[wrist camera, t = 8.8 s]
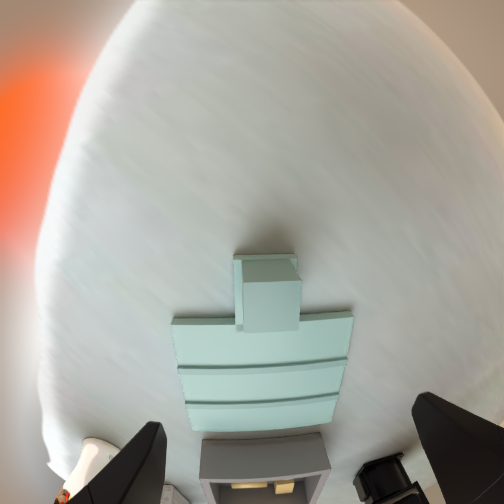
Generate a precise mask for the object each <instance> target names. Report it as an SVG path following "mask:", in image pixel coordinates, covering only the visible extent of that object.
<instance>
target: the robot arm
mask: <svg viewBox="0 0 504 504" xmlns="http://www.w3.org/2000/svg"><path fill="white" fill-rule="evenodd" d="M412 416H413V419H414V422H415V425H416V428H417V432H418V435H419V438H420V441H421V444H422V446H423V449H424V451H425V453H426V455H427V458H428V460H429V462H430V465H431V467H432V469H433V472H434V474H435V477H436V479H437V481H438V484H439V486H440V489H441V491H442V494H443V496H444V499H445V502H446V504H504V428H503V427H500V426H498V425H496V424H494V423H492V422H490V421H488V420H485V419H483V418H481V417H479V416H477V415H475V414H473V413H471V412H469V411H467V410H465V409H463V408H460V407H458V406H456V405H454V404H452V403H450V402H448V401H446V400H444V399H442V398H440V397H438V396H437V395H435V394H433V393H431V392H424V393H421V394H419V395H418V396H417V398H416V401H415V403H414V405H413V407H412ZM166 449H167V437H166V434H165V431H164V428H163V426H162V424H161V423H160V422H154V421H149V422H147V423H146V425H145V426H144V427H143V428H142V429H141V430H140V431H139V432H138V433H137V434H136V435H135V436H134V437H133V438H132V439H131V440H130V441H129V442H128V443H127V444H126V445H125V446H124V447H123V448H122V449H121V450H120V452H119V453H118V454H117V455H116V456H115V457H114V458H113V459H112V460H111V461H110V462H109V463H108V464H107V465H106V466H105V467H104V468H103V469H102V470H101V471H100V472H99V473H98V474H97V475H96V476H95V477H93V478H92V479H91V480H90V481H89V482H88V485H85V486H84V487H83V488H82V489H81V490H80V491H79V492H78V493H77V494H75V495H74V496H73V497H72V498H71V499H70V500H68V501H67V502H66V503H64V504H160V502H161V496H162V491H163V486H164V480H165V465H166ZM403 456H404V454H403V453H399V454H396V455H393V456H390V457H387V458H384V459H381V460H378V461H374V462H371V463H367V464H365V465H363V466H362V468H361V470H360V472H359V473H358V475H357V477H356V479H355V480H354V482H353V485H355V487H356V490H357V493H358V496H359V499H360V501H361V502H365V504H429V502H428V500H427V498H426V496H425V494H424V492H423V491H422V489H421V487H420V485H419V483H418V482H417V481H416V482H414V483H413V484H412V483H411V481H410V479H409V477H408V475H407V473H406V471H405V469H404V467H403V465H402V463H401V461H400V460H401V459H402V457H403ZM416 492H417V493H416Z"/></svg>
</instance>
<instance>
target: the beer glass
mask: <svg viewBox="0 0 504 504" xmlns="http://www.w3.org/2000/svg"><path fill="white" fill-rule="evenodd" d="M119 452H120V449H119V448H117V447H116V446H114V445H112V444H110V443H108V442H106V441H104V440H101V439H97V438H86V439H85V440H84V441H83V444H82V450H81V455H80V459H79V462H78V464H77V466H76V468H75V469H74V470H73V472H72V473H71V475H70V476H69V478H68V479H67V480H66V482H65V483H64V485H63V486H62V488H61V489H60V491H59V493H58V494H57V497H56V499H55V501H54V504H64V503H66V502H67V501H68V500H70V499H71V498H72V497H73V496H74V495H75V494H77V493H78V492H79V491H80V490H81V489H82V488H83V487H84V486H85V485H88V482H89V481H90V480H91V479H92V478H93V477H95V476H96V475H97V474H98V473H99V472H100V471H101V470H102V469H103V468H104V467H105V466H106V465H107V464H108V463H109V462H110V461H111V460H112V459H113V458H114V457H115V456H116V455H117V454H118V453H119Z"/></svg>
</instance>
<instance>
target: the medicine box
mask: <svg viewBox="0 0 504 504" xmlns="http://www.w3.org/2000/svg"><path fill="white" fill-rule="evenodd" d="M160 504H191V503H190V502H189V501H187V500H186V499H185V498H184V497H183V496H182V495H181V494H180V493H179V491H178V490H177V489H176V488H175V487H174V486H173V485H164V486H163V491H162V496H161V502H160Z"/></svg>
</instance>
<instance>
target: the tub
mask: <svg viewBox="0 0 504 504" xmlns="http://www.w3.org/2000/svg"><path fill="white" fill-rule="evenodd" d="M330 471H331V466H330V463H329V459H328V456H327V453H326V450H325V447H324V444H323V440H322V437H321V434H320V432H319V433H313V434H305V435H298V436H289V437H279V438H267V439H250V440H202V447H201V460H200V473H199V480H200V482H201V485H202V488H203V490H204V493H205V496H206V498H207V501H208V503H209V504H316V502H317V499H318V497H319V495H320V493H321V491H322V489H323V487H324V485H325V482H326V480H327V478H328V476H329V473H330Z"/></svg>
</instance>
